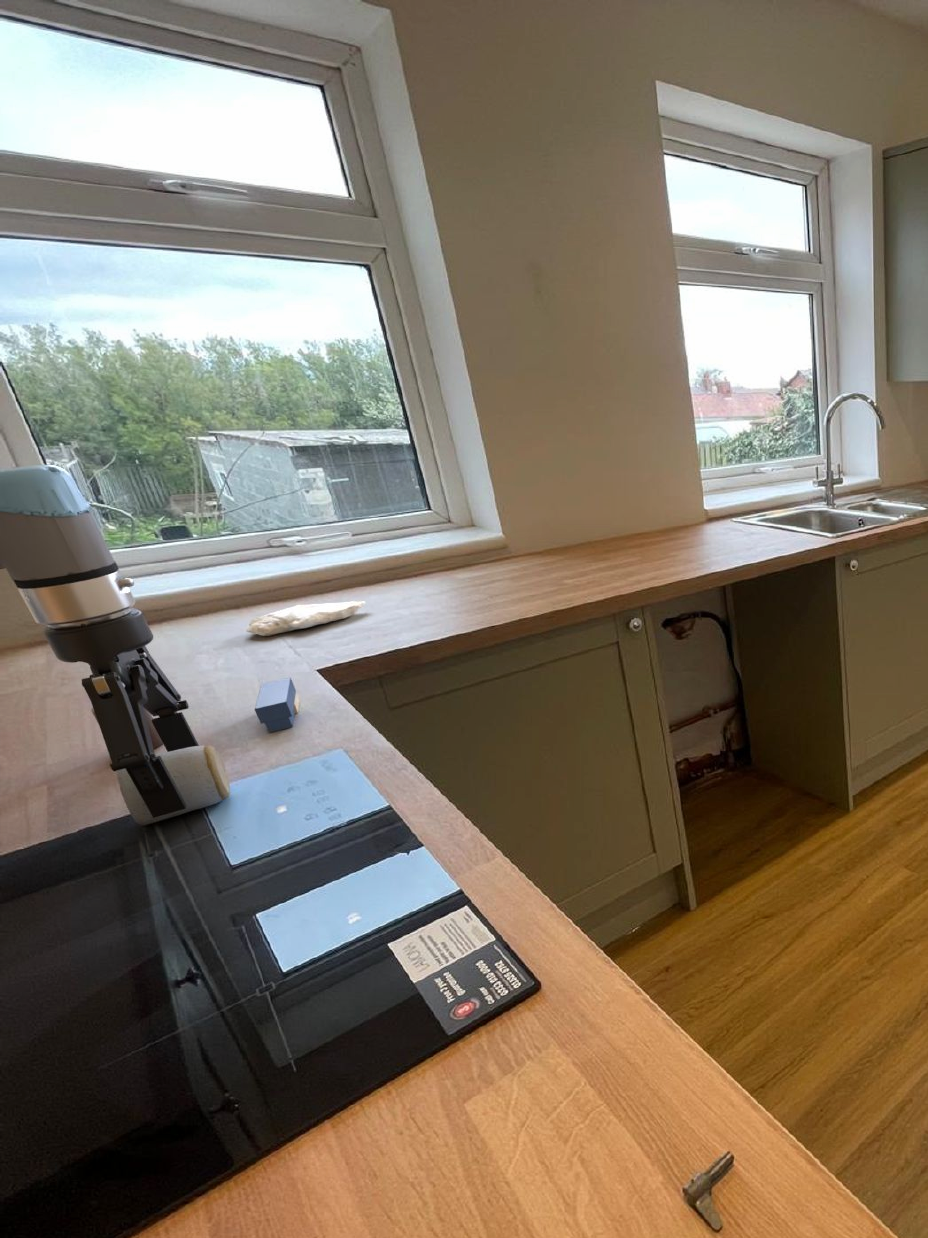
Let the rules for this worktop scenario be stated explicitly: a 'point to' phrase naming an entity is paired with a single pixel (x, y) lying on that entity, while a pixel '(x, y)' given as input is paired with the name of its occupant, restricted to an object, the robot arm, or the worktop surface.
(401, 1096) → the worktop surface
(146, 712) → the pepper mill
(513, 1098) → the worktop surface
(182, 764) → the white canister
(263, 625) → the rock
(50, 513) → the robot arm
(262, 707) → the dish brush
